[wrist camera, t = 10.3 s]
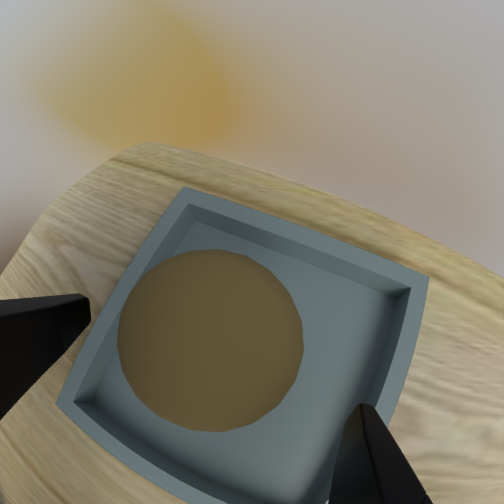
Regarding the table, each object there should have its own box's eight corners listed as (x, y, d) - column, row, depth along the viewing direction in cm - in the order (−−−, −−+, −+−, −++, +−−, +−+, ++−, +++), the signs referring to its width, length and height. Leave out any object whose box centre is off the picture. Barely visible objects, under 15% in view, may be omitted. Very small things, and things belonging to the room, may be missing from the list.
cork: (201, 313, 17) (122, 208, 8) (297, 324, 17) (334, 223, 7) (184, 405, 15) (64, 411, 5) (285, 421, 14) (314, 476, 4)
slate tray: (310, 526, 10) (316, 546, 8) (80, 405, 15) (55, 403, 12) (410, 293, 18) (429, 277, 15) (193, 210, 22) (184, 186, 20)
